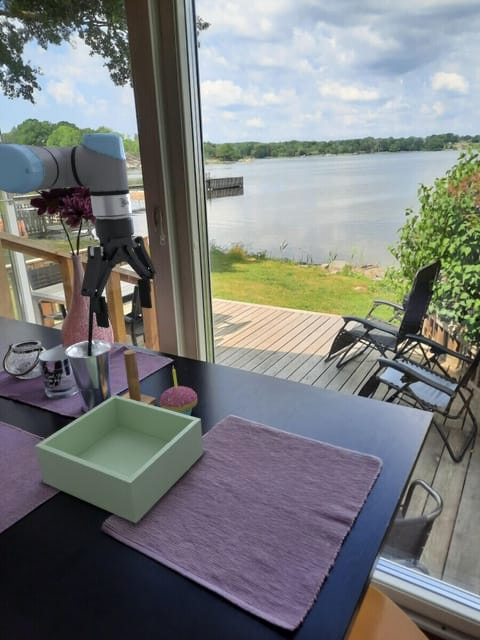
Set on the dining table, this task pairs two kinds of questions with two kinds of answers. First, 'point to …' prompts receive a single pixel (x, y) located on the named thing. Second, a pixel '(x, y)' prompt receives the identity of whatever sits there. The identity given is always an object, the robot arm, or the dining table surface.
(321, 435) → the dining table surface
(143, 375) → the dining table surface
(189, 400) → the cupcake
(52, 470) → the tub
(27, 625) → the dining table surface
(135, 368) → the wooden stamp
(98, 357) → the tall metal cup
